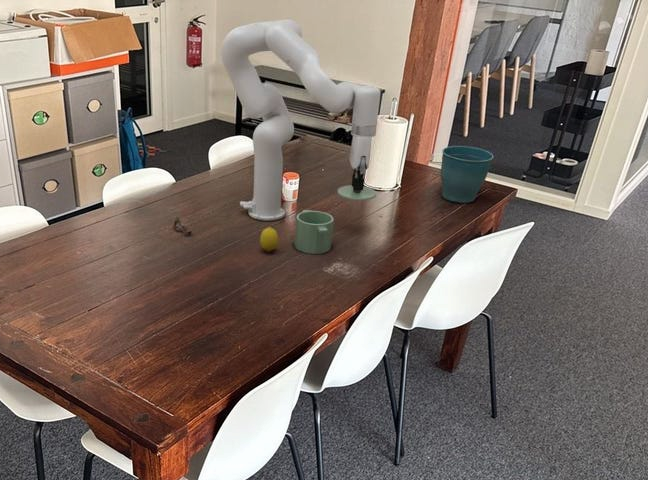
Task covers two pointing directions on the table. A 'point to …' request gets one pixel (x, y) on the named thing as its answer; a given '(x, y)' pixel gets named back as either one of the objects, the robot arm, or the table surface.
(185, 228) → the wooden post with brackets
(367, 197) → the lid
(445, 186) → the flower pot
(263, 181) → the robot arm
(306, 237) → the crock
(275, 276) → the table surface
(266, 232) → the lemon
